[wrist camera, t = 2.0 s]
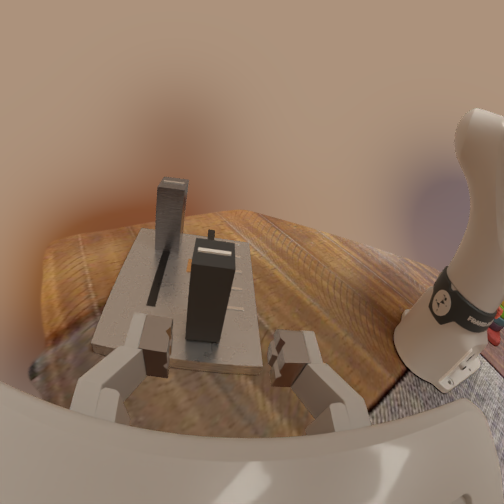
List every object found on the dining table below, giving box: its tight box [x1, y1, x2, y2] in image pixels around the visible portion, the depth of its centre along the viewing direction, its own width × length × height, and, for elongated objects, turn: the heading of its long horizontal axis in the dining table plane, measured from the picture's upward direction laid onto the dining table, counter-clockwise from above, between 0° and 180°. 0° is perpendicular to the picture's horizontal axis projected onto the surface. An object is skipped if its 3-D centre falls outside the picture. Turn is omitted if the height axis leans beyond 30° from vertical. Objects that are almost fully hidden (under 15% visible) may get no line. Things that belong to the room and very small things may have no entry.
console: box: [91, 177, 263, 375], centre depth 37 cm, size 20×28×13 cm
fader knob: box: [185, 238, 236, 343], centre depth 29 cm, size 4×4×11 cm
